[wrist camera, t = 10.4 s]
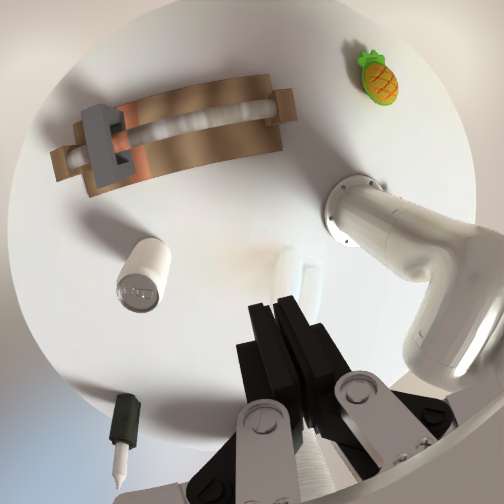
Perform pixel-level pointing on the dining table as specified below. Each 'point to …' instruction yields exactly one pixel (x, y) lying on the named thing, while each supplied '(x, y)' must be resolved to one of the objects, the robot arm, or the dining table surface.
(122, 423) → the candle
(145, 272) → the can
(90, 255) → the dining table surface
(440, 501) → the robot arm
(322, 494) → the vase
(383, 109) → the dining table surface
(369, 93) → the toy pineapple
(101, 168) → the collar
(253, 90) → the rail
